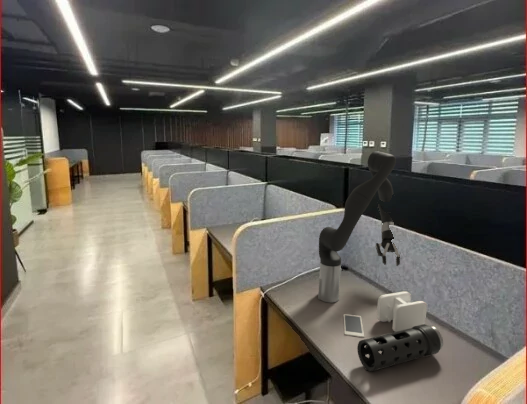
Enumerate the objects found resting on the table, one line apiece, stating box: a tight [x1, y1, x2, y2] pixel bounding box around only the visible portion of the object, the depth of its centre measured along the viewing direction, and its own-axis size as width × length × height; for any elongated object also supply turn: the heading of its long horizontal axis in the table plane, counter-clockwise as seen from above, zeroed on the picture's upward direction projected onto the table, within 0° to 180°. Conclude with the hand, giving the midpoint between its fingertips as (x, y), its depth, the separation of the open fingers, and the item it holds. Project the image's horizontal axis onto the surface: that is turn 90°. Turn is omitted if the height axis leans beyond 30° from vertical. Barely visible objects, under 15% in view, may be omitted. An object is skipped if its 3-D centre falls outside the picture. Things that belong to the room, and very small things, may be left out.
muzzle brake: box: [356, 323, 444, 372], centre depth 102 cm, size 10×28×10 cm, turn 110°
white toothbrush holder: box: [376, 290, 428, 332], centre depth 122 cm, size 15×11×12 cm
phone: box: [343, 313, 365, 338], centre depth 122 cm, size 7×14×1 cm, turn 167°
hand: (391, 264), depth 146 cm, fingers open, 5 cm apart
